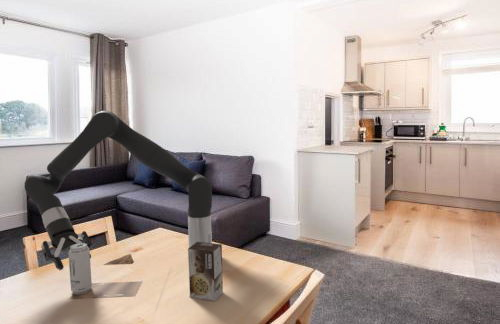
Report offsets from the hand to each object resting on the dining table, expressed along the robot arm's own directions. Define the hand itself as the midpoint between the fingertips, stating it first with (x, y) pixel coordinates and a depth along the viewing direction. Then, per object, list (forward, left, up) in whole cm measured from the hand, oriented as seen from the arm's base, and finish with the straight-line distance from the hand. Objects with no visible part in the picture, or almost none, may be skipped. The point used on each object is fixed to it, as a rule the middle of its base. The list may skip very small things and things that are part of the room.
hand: (75, 264), depth 111 cm
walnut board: (-10, +2, -9) cm, 14 cm away
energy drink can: (-2, +2, -8) cm, 9 cm away
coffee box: (-42, +6, -9) cm, 44 cm away
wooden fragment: (-6, -18, -10) cm, 22 cm away
